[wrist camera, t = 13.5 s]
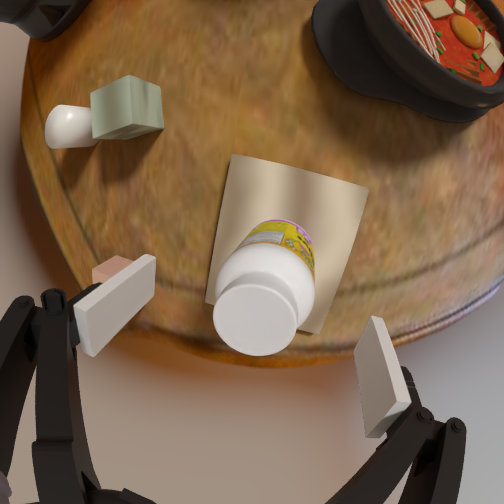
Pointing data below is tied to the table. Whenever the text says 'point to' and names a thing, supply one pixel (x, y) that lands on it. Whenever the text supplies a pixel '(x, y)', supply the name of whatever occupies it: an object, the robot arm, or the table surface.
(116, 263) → the terracotta block
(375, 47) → the casserole
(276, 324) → the supplement bottle
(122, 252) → the table surface
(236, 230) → the birch board
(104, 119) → the sage block
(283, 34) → the table surface
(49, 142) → the white domed cylinder
